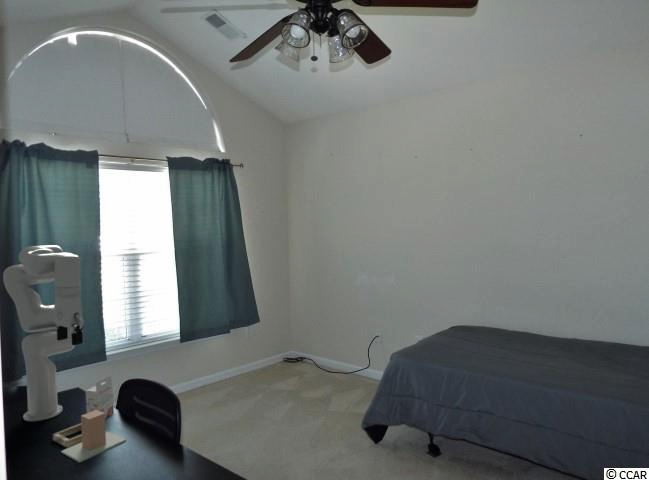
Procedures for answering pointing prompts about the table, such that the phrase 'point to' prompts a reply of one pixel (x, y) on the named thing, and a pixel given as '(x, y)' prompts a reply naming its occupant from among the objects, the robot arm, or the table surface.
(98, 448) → the sage pad
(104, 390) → the ink cartridge box
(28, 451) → the table surface
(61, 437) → the pocket frame
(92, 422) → the terracotta block
